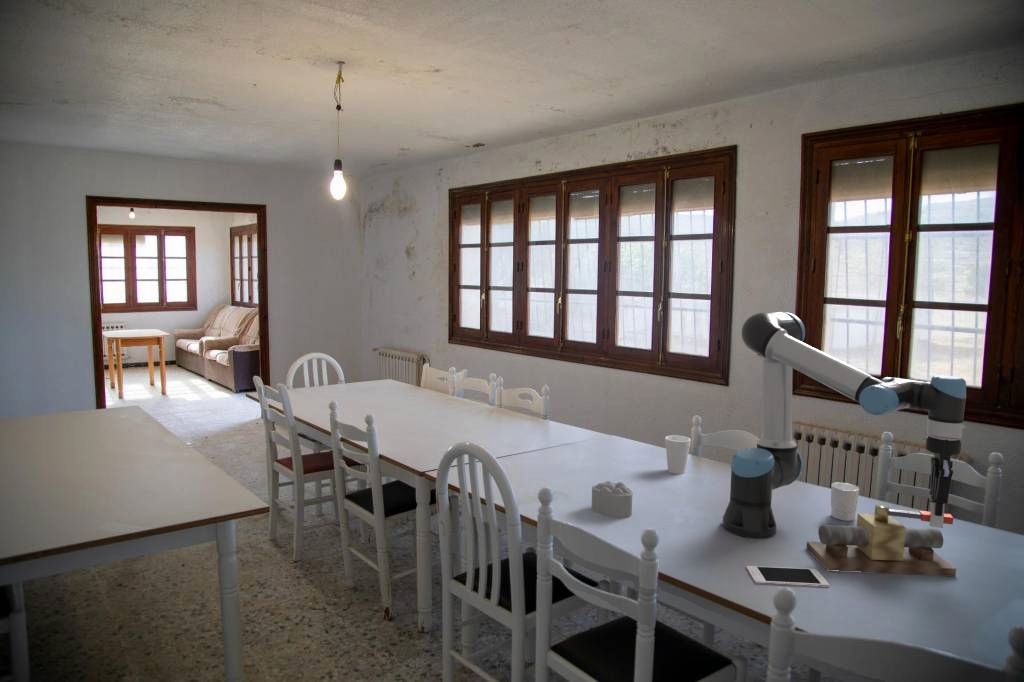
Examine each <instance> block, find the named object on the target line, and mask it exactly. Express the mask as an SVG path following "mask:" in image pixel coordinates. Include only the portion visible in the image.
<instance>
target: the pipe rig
mask: <svg viewBox="0 0 1024 682" xmlns="http://www.w3.org/2000/svg"><path fill="white" fill-rule="evenodd" d="M874 517H875V513H857V518H856V525H840V524H839V525H837V524H836V525H833V524H832V525H831V524H830V525H829V524H821V525H819V527H818V538H819V541H806V549H807V550H808V551H809V553H810V554H811V553H812V554H813V555H814V556H815V557H816V558H817V559H818V560H819V561H820V562H821V563H822V564H823V565H824V566H825V567H826V568H827V569H828V570H839V571H861V572H874V573H873V574H885V573H888V575H890V574H891V575H918V576H944V577H956V576H957V575H956V574H957V568H956V567H955V566H953V565H952V564H950V563H949V562H947V561H946V559H944V558H942V557H941V556H940V555H938V554H937V553H935V549H941V548H942V547H943V546H944V536H943V534H942V532H941V530H940V529H938V528H924V527H923V528H920V527H905V525H903V524H902V523H900V522H899V521H897V520H896V519H894V517H893V516H888V521H887V522H883V521H878V520H876V519H874ZM812 554H811V555H812ZM813 555H812V556H813ZM814 556H813V557H814ZM815 557H814V558H815ZM816 558H815V559H816ZM817 559H816V560H817ZM818 560H817V561H818ZM819 561H818V562H819ZM820 562H819V563H820ZM821 563H820V564H821ZM822 564H821V565H822ZM823 565H822V566H823ZM824 566H823V567H824Z"/></svg>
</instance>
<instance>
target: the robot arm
mask: <svg viewBox="0 0 1024 682" xmlns="http://www.w3.org/2000/svg"><path fill="white" fill-rule="evenodd" d="M805 337H806V328H805V324H804V322H803V321H802V320H801V319H800V318H799V317H798V316H797V315H795V314H794V313H792V312H788V311H772V312H760V313H756V314H752V315H751V316H749V317H748V318H747V319H746V320H745V321H744V323H743V325H742V328H741V338H742V339H741V340H742V341H743V342H744V344H745V346H746V347H747V348H748V349H749V350H751V351H752V352H754V353H755V354H757V357H758V358H759V359H760V360H761V361H762V384H761V385H762V389H761V390H762V395H761V396H762V397H761V398H762V399H761V403H762V405H761V407H762V408H761V410H762V411H761V413H762V414H761V419H762V420H761V422H762V423H761V437H760V438H759V439H758V440H756V447H750V448H749V447H748V448H742V449H739V450H737V451H735V452H734V454H733V456H732V461H731V466H730V467H731V472H730V491H729V492H730V494H729V502H728V504H727V507H726V509H725V511H724V514H723V516H722V527H723V528H724V529H725V530H726V531H728V532H729V533H732V534H734V535H736V536H741V537H746V538H752V539H764V538H765V539H767V538H770V537H773V536H775V535H776V533H777V523H776V520H775V515H774V512H773V508H772V497H773V496H772V494H773V490H777V489H778V488H782V487H785V486H789V485H790V484H792V483H795V482H796V481H797V480H798V479H799V478H800V477H801V476H802V474H803V471H804V464H805V463H804V459H803V456H802V455H801V454H800V452H799V450H798V444H797V442H796V441H795V440H794V439H793V369H794V370H796V371H798V372H800V373H801V374H804V375H806V376H808V377H809V378H811V379H813V380H815V381H817V382H819V383H821V384H823V385H825V386H826V387H828V388H829V389H832V390H834V391H836V392H838V393H840V394H842V395H843V396H845V397H848V398H850V399H851V400H853V401H854V402H857V403H858V404H859V405H860V406H861V408H862V409H863V410H864V411H865V412H866V413H868V414H870V415H873V416H884V415H889V414H892V413H893V412H897V411H901V410H905V409H913V410H919V411H926V412H927V413H928V414H927V415H928V416H927V423H926V434H928V435H926V439H925V446H924V447H925V449H926V451H928V452H929V453H933V456H931V457H930V486H929V487H930V490H929V494H930V499H929V501H930V503H931V505H930V511H929V512H930V522H929V526H930V527H933V528H937V529H938V528H940V529H943V528H944V523H943V520H944V514H945V507H946V505H947V504H948V502H949V495H950V490H951V489H950V488H951V481H952V478H953V475H954V470H953V469H952V468H953V464H954V463H953V461H951V456H959V455H961V451H962V440H961V438H962V437H963V430H965V429H966V426H965V425H964V418H965V417H964V416H965V407H966V399H967V382H966V380H965V379H964V378H962V377H960V376H954V375H942V374H940V375H939V374H937V375H932V376H931V379H930V381H923V380H921V381H920V380H914V379H907V378H901V377H890V376H889V377H888V376H886V377H883V378H881V379H878V378H877V377H874V376H872V375H871V374H868V373H867V372H864V371H862V370H860V369H859V368H856V367H854V366H852V365H850V364H848V363H846V362H844V361H843V360H840V359H838V358H836V357H834V356H831V354H828V353H826V352H824V351H821V350H819V349H818V348H815V347H812V346H811V345H809V344H807V343H805V342H803V341H804V340H805Z"/></svg>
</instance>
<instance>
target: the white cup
mask: <svg viewBox="0 0 1024 682" xmlns="http://www.w3.org/2000/svg"><path fill="white" fill-rule="evenodd" d="M859 496H860V487H859V486H857V485H855V484H851V483H847V482H838V481H837V482H833V483H831V487H830V507H831V508H830V509H831V510H830V515H831V517H833V518H834V519H836V520H839V521H847V522H848V521H849V522H851V521H854V520H856V512H857V508H858V503H859Z"/></svg>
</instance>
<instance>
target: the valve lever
mask: <svg viewBox="0 0 1024 682" xmlns="http://www.w3.org/2000/svg"><path fill="white" fill-rule="evenodd" d="M930 512H931V511H927V510H926V511H924V510H919V511H910V510H902V509H895V508H893V509H892V508H889V506H887V505H884V504H876V505H875V506H874V514H875V517H874V519H876V520H878V521H883V522H887V521H888V516H890V517H900V518H909V519H917V520H920V521H921V522H928V523H930ZM946 524H947V525H953V524H954V517H953V516H952V514H951V513H944V520H943V525H946Z"/></svg>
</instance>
